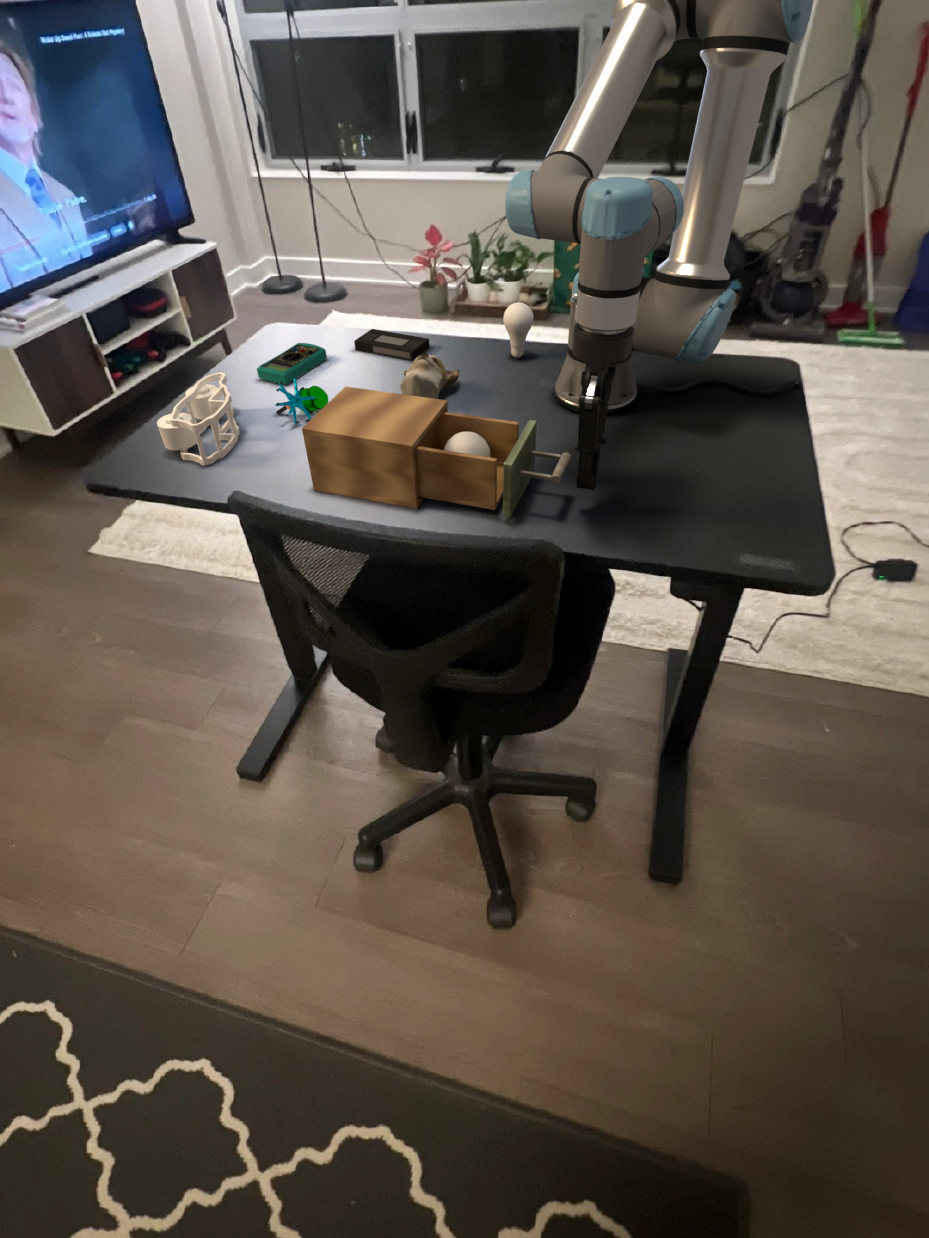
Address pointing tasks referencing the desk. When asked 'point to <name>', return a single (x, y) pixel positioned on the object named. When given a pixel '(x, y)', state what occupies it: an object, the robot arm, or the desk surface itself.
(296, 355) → the digital multimeter
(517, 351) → the lightbulb
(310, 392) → the stick construction toy
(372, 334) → the vhs tape
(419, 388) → the ceramic sculpture
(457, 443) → the cream egg
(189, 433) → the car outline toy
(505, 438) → the drawer
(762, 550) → the desk surface
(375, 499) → the cabinet
